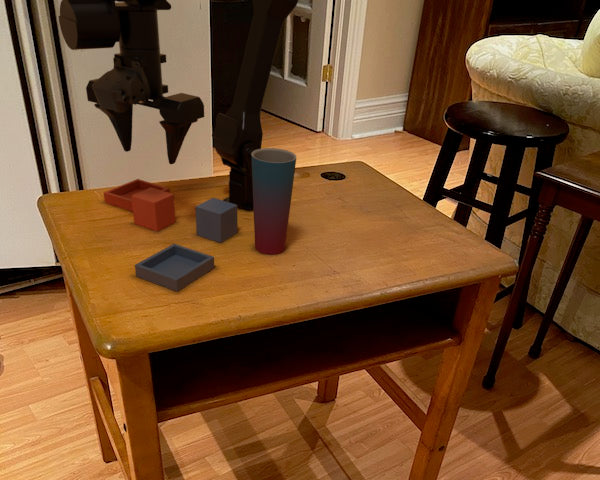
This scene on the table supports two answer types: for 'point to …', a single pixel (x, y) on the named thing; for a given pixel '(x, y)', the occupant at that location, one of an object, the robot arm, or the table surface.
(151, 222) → the rust block
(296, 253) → the table surface
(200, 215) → the blue block
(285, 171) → the cup
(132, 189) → the rust tray
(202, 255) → the blue tray
